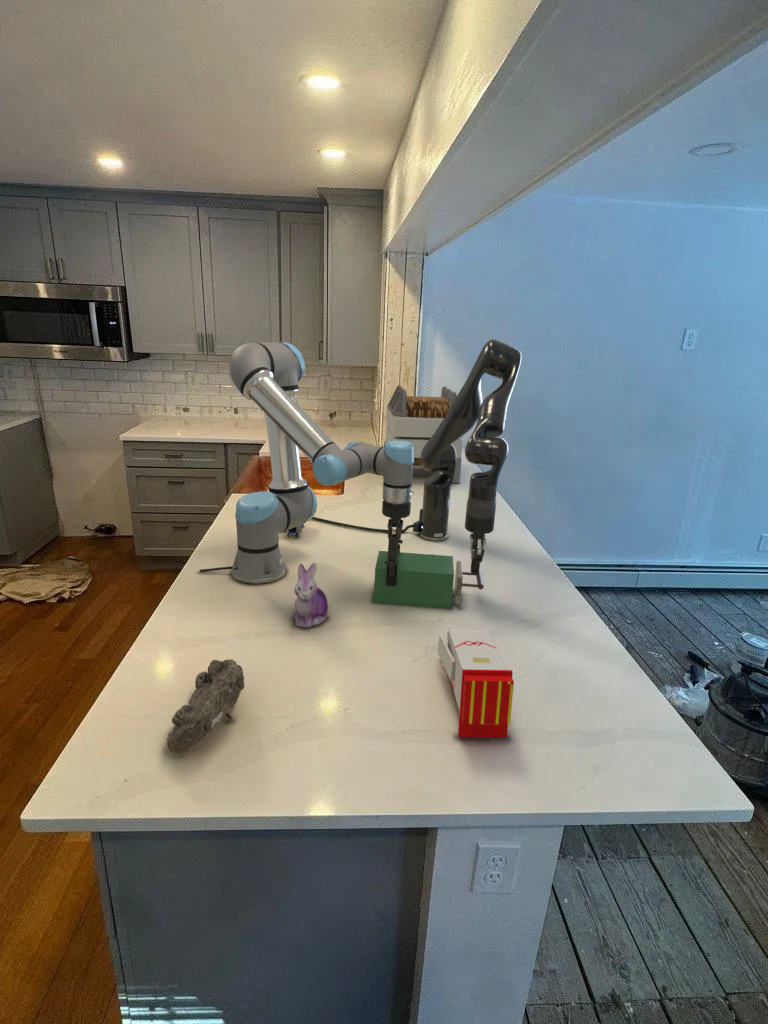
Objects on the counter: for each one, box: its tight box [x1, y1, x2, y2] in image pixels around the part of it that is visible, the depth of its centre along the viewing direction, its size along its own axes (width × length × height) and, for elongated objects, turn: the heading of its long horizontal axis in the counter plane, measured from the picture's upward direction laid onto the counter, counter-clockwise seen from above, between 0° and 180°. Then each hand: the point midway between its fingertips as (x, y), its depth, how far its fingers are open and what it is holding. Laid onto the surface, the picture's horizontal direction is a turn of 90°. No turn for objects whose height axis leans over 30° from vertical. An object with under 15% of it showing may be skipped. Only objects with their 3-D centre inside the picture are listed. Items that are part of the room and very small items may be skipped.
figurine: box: [293, 562, 329, 628], centre depth 140 cm, size 9×10×15 cm
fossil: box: [166, 658, 245, 754], centre depth 106 cm, size 22×10×15 cm
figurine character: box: [282, 524, 305, 538], centre depth 196 cm, size 7×8×15 cm
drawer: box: [453, 560, 485, 605], centre depth 155 cm, size 25×10×8 cm, turn 85°
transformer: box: [383, 384, 464, 484], centre depth 268 cm, size 34×33×41 cm
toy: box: [437, 628, 515, 738], centre depth 117 cm, size 12×13×30 cm
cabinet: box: [373, 550, 455, 609], centre depth 156 cm, size 21×12×10 cm, turn 85°
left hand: (392, 575), depth 156 cm, fingers closed on cabinet, 12 cm apart
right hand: (474, 572), depth 154 cm, fingers closed
